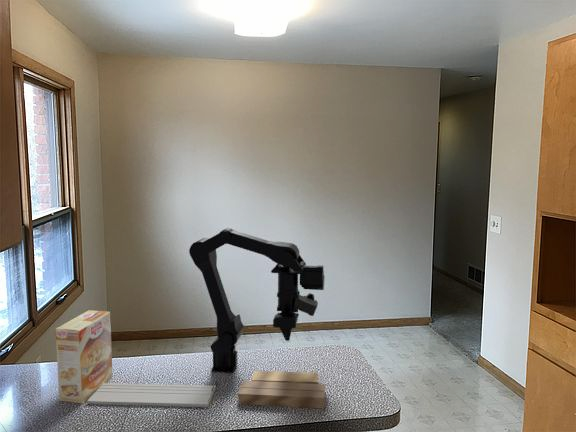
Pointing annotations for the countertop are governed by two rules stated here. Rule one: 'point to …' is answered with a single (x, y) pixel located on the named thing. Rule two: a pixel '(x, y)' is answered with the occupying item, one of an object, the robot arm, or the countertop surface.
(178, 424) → the countertop surface
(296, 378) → the plank
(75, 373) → the coffeecake box
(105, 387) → the baseboard molding
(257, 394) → the floor board
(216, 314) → the robot arm
